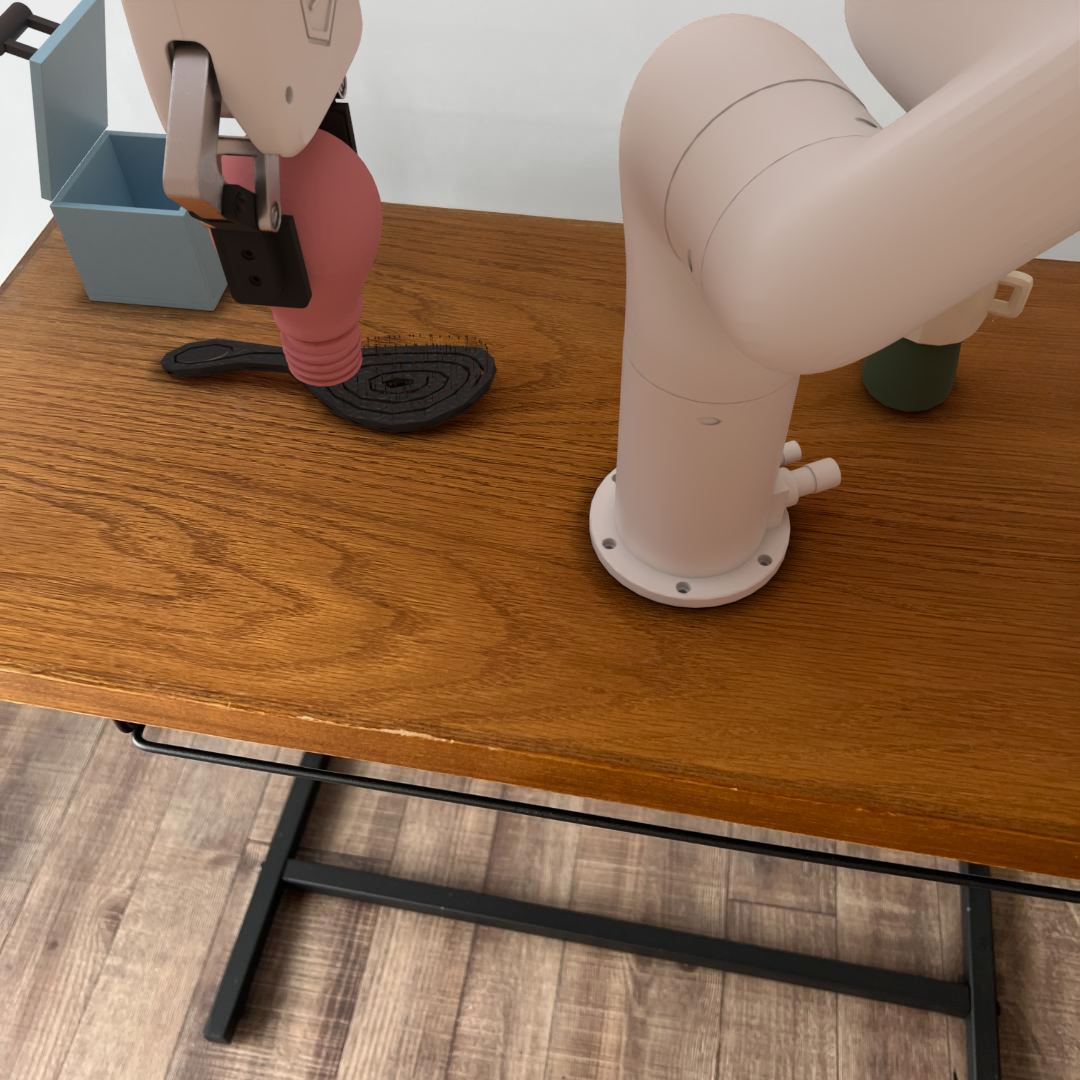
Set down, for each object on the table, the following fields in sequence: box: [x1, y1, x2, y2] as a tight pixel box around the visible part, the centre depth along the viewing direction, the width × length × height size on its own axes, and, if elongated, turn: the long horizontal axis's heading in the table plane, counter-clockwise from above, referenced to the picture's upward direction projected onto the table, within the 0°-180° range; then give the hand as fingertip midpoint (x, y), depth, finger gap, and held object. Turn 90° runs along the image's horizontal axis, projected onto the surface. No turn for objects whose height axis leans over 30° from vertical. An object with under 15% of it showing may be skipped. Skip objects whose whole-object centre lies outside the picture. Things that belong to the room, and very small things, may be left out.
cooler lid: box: [0, 0, 109, 202], centre depth 76 cm, size 11×10×5 cm
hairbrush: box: [160, 333, 498, 434], centre depth 77 cm, size 8×4×25 cm
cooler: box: [49, 129, 228, 312], centre depth 84 cm, size 10×10×9 cm
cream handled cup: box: [861, 270, 1034, 413], centre depth 72 cm, size 11×7×13 cm, turn 66°
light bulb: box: [208, 129, 384, 387], centre depth 47 cm, size 7×7×12 cm
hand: (301, 239), depth 46 cm, fingers closed on light bulb, 7 cm apart
